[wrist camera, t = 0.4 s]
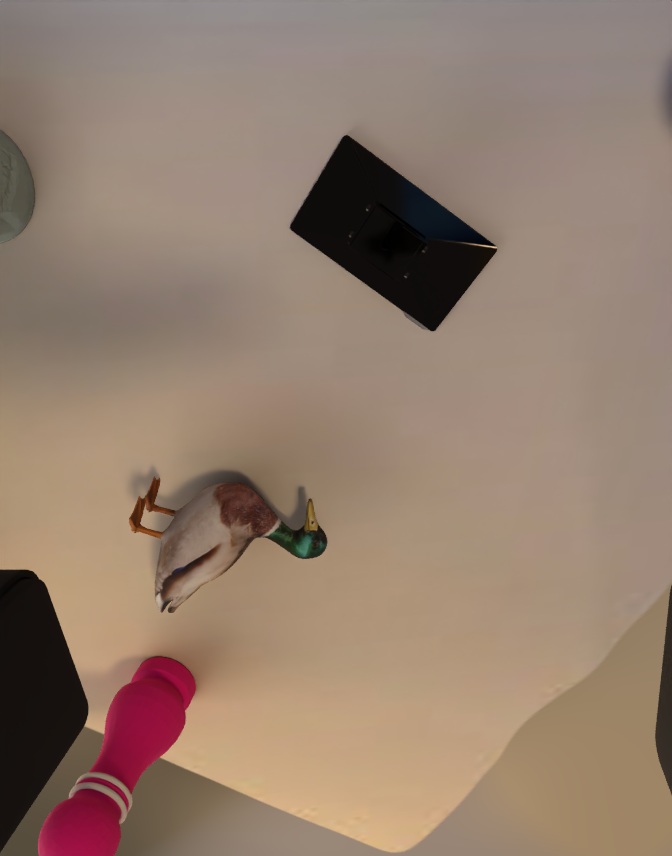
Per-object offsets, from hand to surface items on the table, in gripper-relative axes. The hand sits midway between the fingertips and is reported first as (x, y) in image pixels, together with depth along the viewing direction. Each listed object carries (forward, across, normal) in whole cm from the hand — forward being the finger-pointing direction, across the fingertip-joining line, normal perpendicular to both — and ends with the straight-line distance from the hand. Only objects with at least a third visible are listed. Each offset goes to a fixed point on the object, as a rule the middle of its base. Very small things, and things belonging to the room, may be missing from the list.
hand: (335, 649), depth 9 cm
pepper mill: (+36, +28, +37) cm, 59 cm away
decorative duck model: (+36, +17, +20) cm, 44 cm away
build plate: (+36, +2, -3) cm, 36 cm away
